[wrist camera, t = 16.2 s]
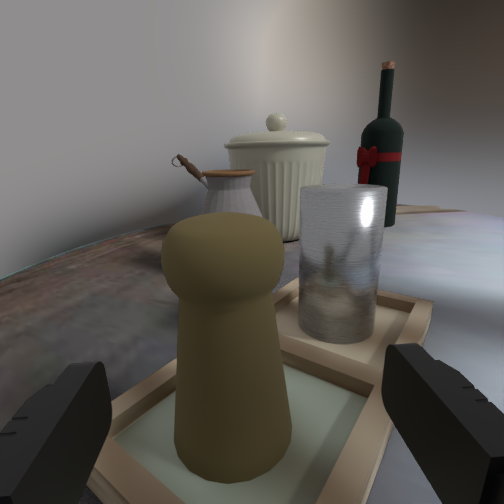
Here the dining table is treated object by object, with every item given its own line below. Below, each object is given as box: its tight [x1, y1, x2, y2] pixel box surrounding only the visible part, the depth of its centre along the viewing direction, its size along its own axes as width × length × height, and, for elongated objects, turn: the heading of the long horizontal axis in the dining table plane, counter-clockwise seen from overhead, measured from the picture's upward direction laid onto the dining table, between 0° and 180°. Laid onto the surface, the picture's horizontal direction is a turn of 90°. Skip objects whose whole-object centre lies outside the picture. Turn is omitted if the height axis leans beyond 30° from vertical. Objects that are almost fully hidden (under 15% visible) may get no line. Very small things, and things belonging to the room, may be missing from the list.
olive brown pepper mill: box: [161, 212, 292, 484], centre depth 15 cm, size 6×6×11 cm
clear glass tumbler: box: [298, 184, 388, 344], centre depth 24 cm, size 6×6×11 cm
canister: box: [224, 113, 330, 241], centre depth 56 cm, size 18×18×21 cm
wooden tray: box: [86, 277, 434, 504], centre depth 21 cm, size 25×12×2 cm, turn 144°
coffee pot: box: [172, 154, 263, 217], centre depth 44 cm, size 21×12×15 cm, turn 35°
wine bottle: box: [357, 61, 404, 227], centre depth 62 cm, size 8×10×30 cm
